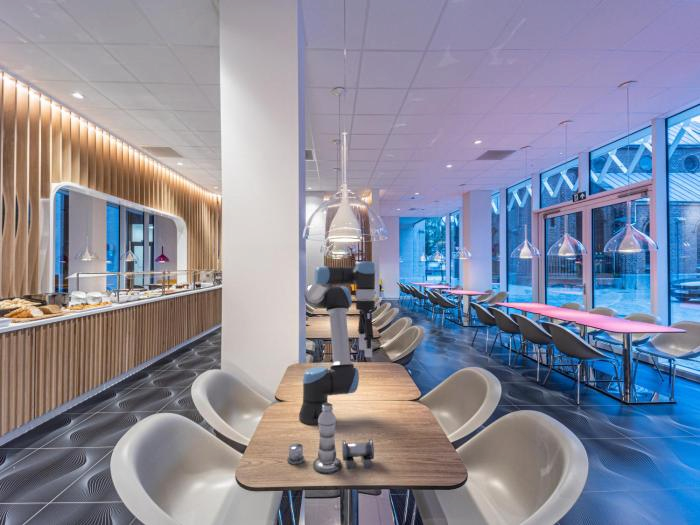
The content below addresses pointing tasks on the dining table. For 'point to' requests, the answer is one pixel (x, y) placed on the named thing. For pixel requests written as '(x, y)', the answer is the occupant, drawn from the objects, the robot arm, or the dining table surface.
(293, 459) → the metal thimble
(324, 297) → the robot arm
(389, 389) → the dining table surface
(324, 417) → the plastic bottle
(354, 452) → the grey metal parts
